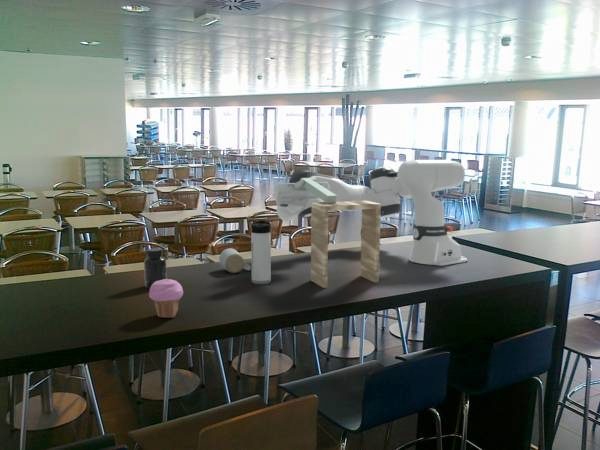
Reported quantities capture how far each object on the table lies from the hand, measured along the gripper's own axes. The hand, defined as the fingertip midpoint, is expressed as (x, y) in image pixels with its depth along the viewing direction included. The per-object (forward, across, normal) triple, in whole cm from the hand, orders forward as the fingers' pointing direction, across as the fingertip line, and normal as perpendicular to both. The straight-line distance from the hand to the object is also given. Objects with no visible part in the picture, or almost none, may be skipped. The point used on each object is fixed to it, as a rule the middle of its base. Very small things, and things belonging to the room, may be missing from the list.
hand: (309, 181), depth 195 cm
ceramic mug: (-22, +25, -25) cm, 41 cm away
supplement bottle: (-11, +55, -30) cm, 64 cm away
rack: (+2, -4, -38) cm, 38 cm away
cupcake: (+16, +56, -46) cm, 74 cm away
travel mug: (-6, +22, -33) cm, 40 cm away
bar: (+5, 0, -7) cm, 8 cm away
